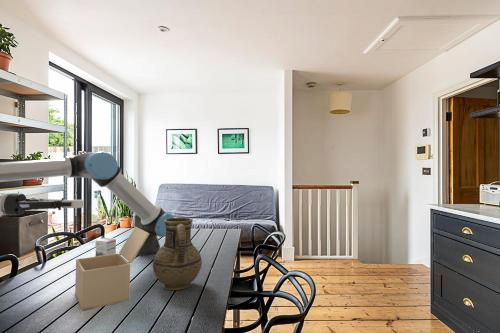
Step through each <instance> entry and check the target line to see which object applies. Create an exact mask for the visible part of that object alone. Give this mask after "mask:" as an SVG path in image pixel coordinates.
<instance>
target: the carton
mask: <svg viewBox="0 0 500 333" xmlns="http://www.w3.org/2000/svg"><path fill="white" fill-rule="evenodd" d="M74 283H75V286H74V287H75V289H74V290H75V291H74V293H75V294H74V295H75V297H76V300H77V303H78V304H79V306H80V309H81V311H83V312H84V311H87V310H88V311H89V310H92V309H97V308H101V307H107V306H110V305H113V304H119V303H124V302H129V301H130V294H131V291H130V290H131V289H130V287H131V263H130V262H129V261H128V260H126V259H125V258H124V257H123V256H122V255H121V254H120V253H116V254H111V255H104V256H97V257H96V256H91V257H90V256H89V257H82V258H76V259H75V282H74Z"/></svg>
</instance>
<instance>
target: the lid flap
mask: <svg viewBox="0 0 500 333" xmlns="http://www.w3.org/2000/svg"><path fill="white" fill-rule="evenodd" d="M133 228H134V227H133ZM148 236H149V233H147V232H145V231H144V230H142V229H140V228H138V227H135V228H134V229H133V230H132V232H131V233H130V234H129V236H128V238H127V239H126V240H125V242H124V244H123V246H122V247H121V248H120V250H119V252H118V254H120V255H121V256H122V257H123V258H124V259H125V260H126V261H127V262H128V263H130V264H133V262H134V260H135V259H136V257H137V256H138V255H137V254H138V252H139V250H140V249H141V247H142V245H143V244H144V242H145V241H146V239H147V237H148Z"/></svg>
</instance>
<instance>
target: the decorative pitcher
mask: <svg viewBox="0 0 500 333" xmlns="http://www.w3.org/2000/svg"><path fill="white" fill-rule="evenodd" d="M193 221H194V220H193V218H190V217H174V218H169V219H165V220H164V222H165V227H166V235H165V237H164V238H165V240H164V244H163V245H162V246H160V250H159V251H158V252H157V253H155V256H154V258H153V262H152V269H153V273H154V275H155V277H156V278H157V280H158V281H160V283H162V284H163V285H164V288H165V289H166V290H171V291H182V290H185V289H188V288H190V287H191V286H192V282H193V281H195V279H196V278H197V277H198V276H199V273H200V271H201V269H202V265H203V260H202V256H201V253H200V252H199V249H198V248H197V247H196V246H195V245H194V244H193V243H192V238H191V233H192V227H193Z"/></svg>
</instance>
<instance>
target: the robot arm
mask: <svg viewBox="0 0 500 333" xmlns="http://www.w3.org/2000/svg"><path fill="white" fill-rule="evenodd" d="M56 177H57V178H58V177H66V178H67V179H68V178H85V179H91V180H93V182H94V183H96V185H98V186H99V187H100V188H107V189H108V190H109V191H110V192H111V193H112V194H113V195H114V196H115V197H117V199H118V200H120V201H121V202H122V203H123V204H124V205H125V206H126V207H127V208H129V209H130V210H131V211H132V212H133V213H134V215H133V217H134V220H133V221H134V223H133V224H134V227H133V228H135V227H138V228H140V229H142V230H144V231H145V232H147V233H149V236H148V237H147V239H146V241H145V242H144V244H143V245H142V247H141V249H140V250H139V252H138V254H137V255H136V256H149V255H154V254H155V255H156V254H157V252H158V251H159V250H160V248H161V244H160V241H159V238H158V237H160V238H162V237H163V238H165V235H166V227H165V222H164V220H165V219H169V218H175V217H174V215H173V214H171V213H169V212H166V211H165V210H164V209H163V208H162V207H161V206H160V205H154V204H153V203H152V202H151V201H150V200H149V199H148V198H147V197H146V196H145V195H144V194H143V193H142V192H141V191H139V190H138V188H137V187H135V186H134V184H133V183H132V182H130V180H128V179H127V178H126V177H125V176H124V175H123V174H122V168H121V167H120V166H119V165H118V161H117V160H116V158H115V156H114V155H113V154H111V153H109V152H106V151H99V150H98V151H93V152H92V151H89V152H84V153H80V154H75V155H74V154H73V155H66V156H64V157H63V158H54V159H53V158H50V159H36V160H35V159H33V160H20V161H18V160H17V161H5V162H4V161H2V162H0V183H3V182H4V183H5V182H14V181H15V182H16V181H24V180H25V181H26V180H33V179H46V178H56ZM81 208H84V199H65V197H62V198H61V199H58V198H57V199H56V198H55V199H54V198H53V199H51V198H49V199H47V198H46V199H45V198H36V197H29V198H27V197H26V195H25V194H24V193H21V192H20V193H19V192H17V193H13V192H12V193H9V192H6V193H5V192H3V193H2V192H0V218H2V216H22V215H23V214H24V213H25V211H32V210H34V211H35V210H36V211H37V210H50V209H52V210H54V209H55V210H56V209H57V210H58V211H62V209H81Z"/></svg>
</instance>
